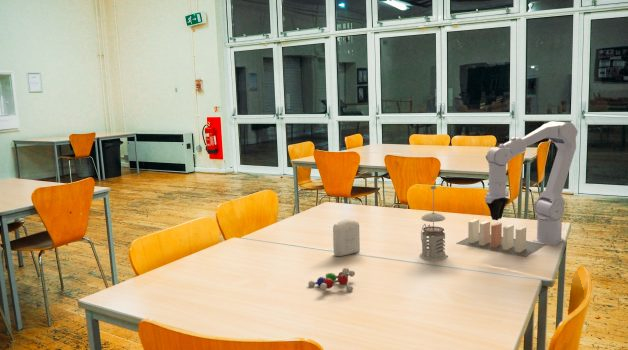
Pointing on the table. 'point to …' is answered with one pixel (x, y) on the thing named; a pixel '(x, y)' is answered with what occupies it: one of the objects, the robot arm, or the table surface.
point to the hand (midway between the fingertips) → (496, 219)
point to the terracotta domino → (496, 234)
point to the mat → (530, 249)
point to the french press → (436, 241)
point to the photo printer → (346, 237)
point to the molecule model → (334, 279)
